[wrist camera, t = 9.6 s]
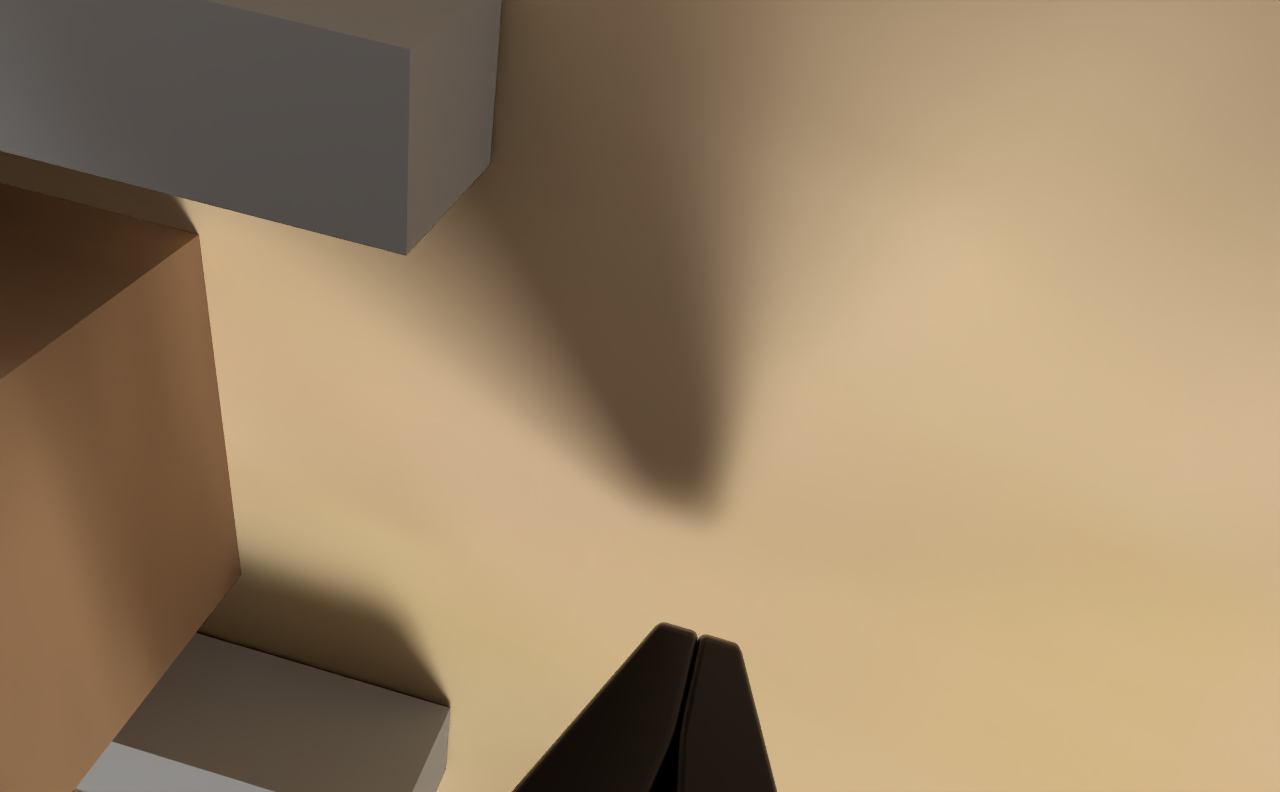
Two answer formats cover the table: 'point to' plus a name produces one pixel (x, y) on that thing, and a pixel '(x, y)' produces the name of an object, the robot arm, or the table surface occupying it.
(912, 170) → the table surface
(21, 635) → the walnut block
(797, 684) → the table surface
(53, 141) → the grey bay
